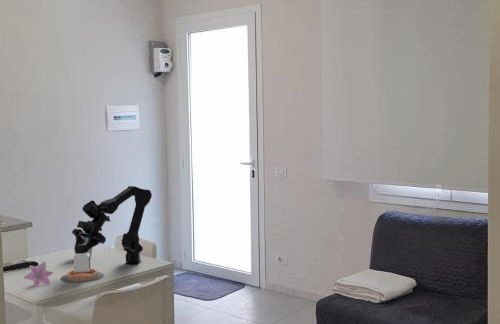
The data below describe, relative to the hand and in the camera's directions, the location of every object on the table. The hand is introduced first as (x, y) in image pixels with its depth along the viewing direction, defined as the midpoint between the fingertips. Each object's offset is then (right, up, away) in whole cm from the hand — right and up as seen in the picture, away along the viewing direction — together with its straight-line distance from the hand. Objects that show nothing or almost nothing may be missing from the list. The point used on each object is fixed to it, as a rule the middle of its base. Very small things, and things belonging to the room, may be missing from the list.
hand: (79, 250), depth 279 cm
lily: (-15, -14, -9) cm, 23 cm away
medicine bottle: (+1, -10, +2) cm, 10 cm away
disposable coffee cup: (-9, -10, +41) cm, 43 cm away
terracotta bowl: (+1, -13, +2) cm, 13 cm away
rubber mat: (+1, -13, +2) cm, 13 cm away
